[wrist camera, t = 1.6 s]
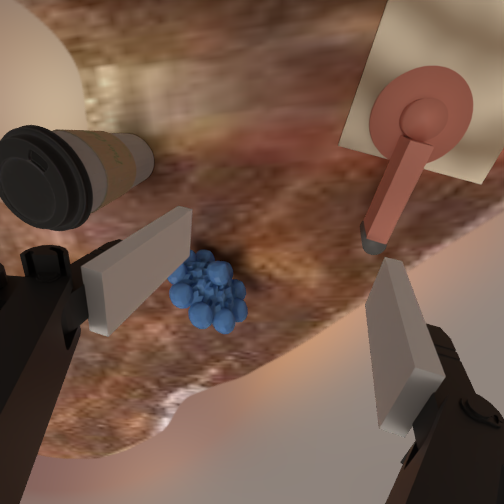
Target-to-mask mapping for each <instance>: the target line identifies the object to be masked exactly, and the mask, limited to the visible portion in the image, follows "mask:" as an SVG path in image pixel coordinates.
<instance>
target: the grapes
mask: <svg viewBox="0 0 504 504" xmlns="http://www.w3.org/2000/svg"><path fill="white" fill-rule="evenodd" d="M232 277H233V269H232V266H231V265H230V263H228V262H225V261H215V258H214V255H213V254H212V252H211V251H209V250H200V251H198V252H197V253H196V254H195V252H194V251H192V250H190V256H189V257H188V258H187V259H186V260H185V261H184V262H183V263H182V264H181V265H180V266H179V267H178V268H177V269H176V270H175V271H174V272H173V273H172V274H171V275H170V276H169V277H168V278H167V279H168V281H169V282H170V283H171V284H174V285H172V287H171V289H170V291H169V292H170V299H171V301H172V303H173V304H174V305H175V306H176V307H178V308H180V309H182V308H188V307H189V306H190V308H189V319H190V321H191V323H192V324H193V325H194V326H195V327H197V328H199V329H206V328H207V327H209V326H210V325H211V324H213V326H214V328H215V329H216V330H217V331H218V332H220V333H222V334H229V333H230V332H231V331H233V329H234V327H235V322H242V321H243V320H245V319H246V317H247V314H248V311H247V306H246V303H245V302H244V300H243V299H244V298H245V295H246V288H245V286H244V284H243V282H242V281H240V280H237V279H232Z"/></svg>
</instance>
